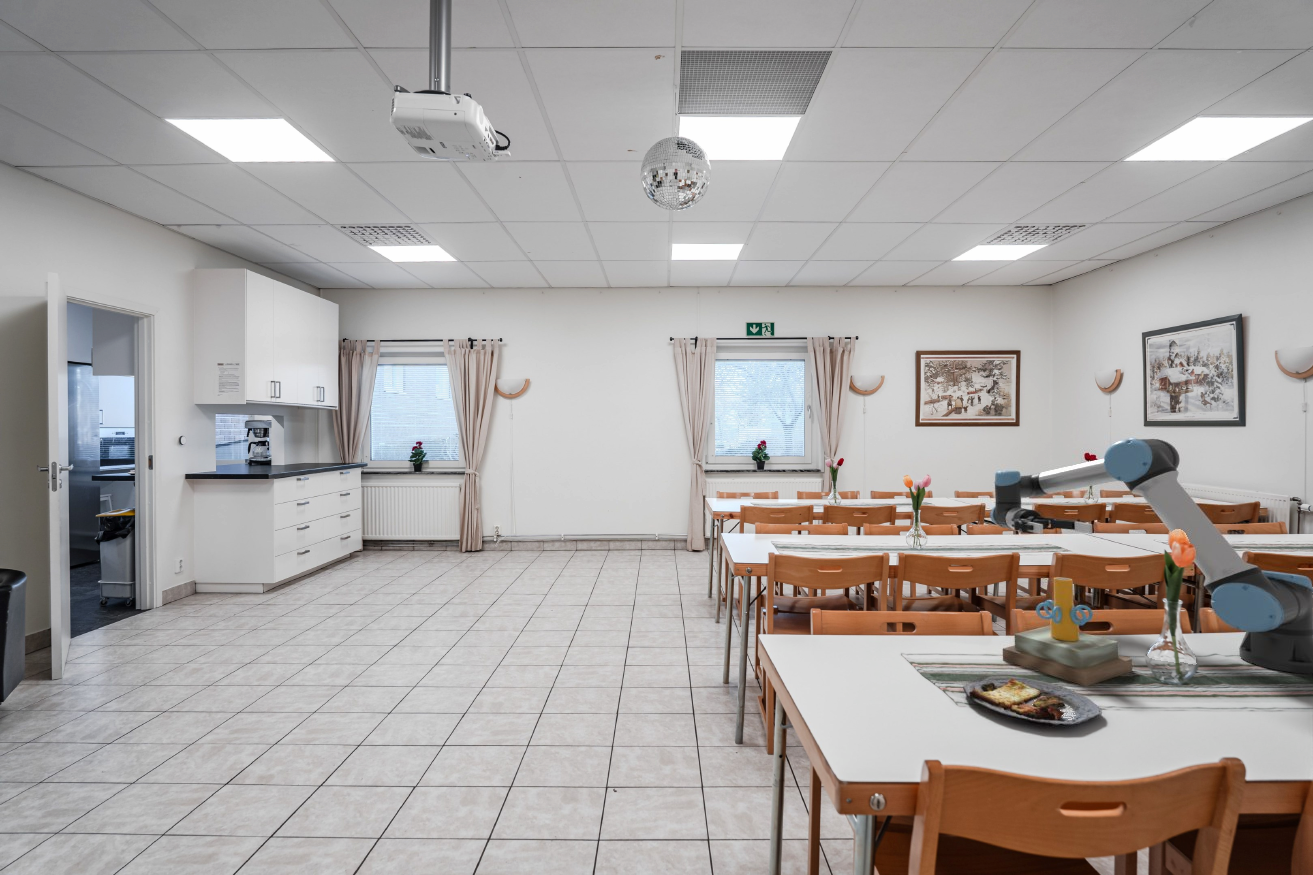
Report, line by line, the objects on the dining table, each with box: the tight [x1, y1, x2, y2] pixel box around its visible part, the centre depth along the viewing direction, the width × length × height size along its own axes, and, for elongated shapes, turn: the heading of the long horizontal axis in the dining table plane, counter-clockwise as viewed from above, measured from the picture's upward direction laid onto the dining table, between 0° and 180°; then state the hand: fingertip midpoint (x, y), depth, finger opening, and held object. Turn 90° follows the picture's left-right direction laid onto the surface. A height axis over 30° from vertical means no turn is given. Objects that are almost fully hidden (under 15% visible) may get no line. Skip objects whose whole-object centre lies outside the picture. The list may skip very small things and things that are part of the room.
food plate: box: [962, 675, 1103, 727], centre depth 128 cm, size 25×23×4 cm
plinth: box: [1002, 625, 1133, 687], centre depth 152 cm, size 20×20×7 cm
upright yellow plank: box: [1035, 576, 1094, 641], centre depth 152 cm, size 12×10×15 cm
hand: (1066, 529), depth 171 cm, fingers open, 13 cm apart
